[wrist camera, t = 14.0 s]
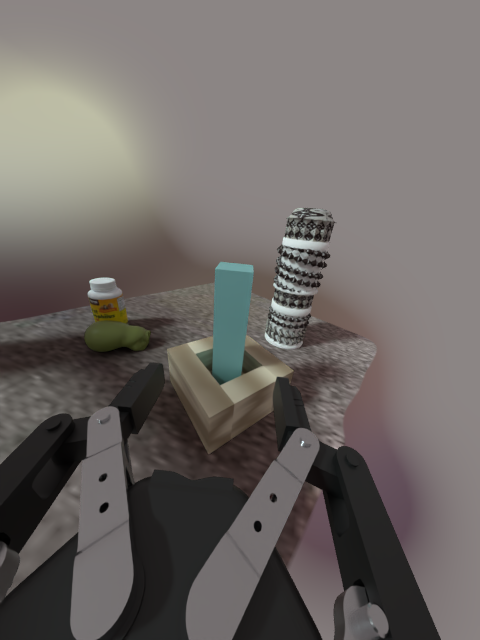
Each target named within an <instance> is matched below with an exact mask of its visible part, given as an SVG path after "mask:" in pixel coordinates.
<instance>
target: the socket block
mask: <svg viewBox="0 0 480 640" xmlns="http://www.w3.org/2000/svg"><path fill="white" fill-rule="evenodd" d="M167 352H168V362H169V371H170V380H171V383H172V385H173V387H174V389H175V391H176V393H177V395H178V397H179V399H180V401H181V403H182V405H183V406H184V408H185V410H186V412H187V414H188V416H189V418H190V420H191V422H192V424H193V426H194V428H195V430H196V432H197V433H198V435H199V437H200V439H201V441H202V443H203V445H204V447H205V449H206V451H207V453H208V455H209V454H210V453H212V452H213V451H215V450H216V449H218V448H219V447H221V446H222V445H223V444H225V443H226V442H228V441H229V440H231V439H232V438H234V437H235V436H237V435H238V434H240V433H241V432H243V431H244V430H246V429H247V428H249V427H250V426H252V425H253V424H255V423H256V422H258V421H259V420H261V419H262V418H263V417H265V416H266V415H268V414H269V413H271V412H272V411H274V408H273V391H274V386H275V382H276V378H277V377H286V378H288V379H289V383H291V379H292V376H293V372H294V371H293V370H292V369H291V368H290V367H288V366H287V365H286V364H284V363H283V362H282V361H280V360H279V359H278V358H276V357H275V356H274V355H273V354H271V353H270V352H269V351H267V350H266V349H265V348H263V347H262V346H261V345H259V344H258V343H257V342H256V341H254V340H253V339H252V338H250V337H249V336H248V335H246V339H245V347H244V356H243V364H242V372H241V376H239V377H237V378H235V379H233V380H231V381H228V382H226V383H224V384H222V385H219V384H218V382H217V381H216V380H215V378H214V377H213V376H212V365H213V336H211V337H208V338H204V339H201V340H197V341H194V342H190V343H187V344H183V345H180V346H176V347H173V348H169V349H167Z"/></svg>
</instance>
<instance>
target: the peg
mask: <svg viewBox="0 0 480 640" xmlns="http://www.w3.org/2000/svg"><path fill="white" fill-rule="evenodd" d="M253 273H254V272H253V265H245V264H235V263H225V262H220V264H219V265H218V266H217V267H216V269H215V294H214V329H213V365H212V376H213V377H214V378H215V380H216V381H217V382H218V384H219V385H222V384H224V383H226V382H228V381H231V380H233V379H235V378H237V377H239V376H241V372H242V364H243V356H244V347H245V339H246V331H247V323H248V314H249V306H250V298H251V290H252V281H253Z"/></svg>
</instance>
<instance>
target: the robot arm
mask: <svg viewBox="0 0 480 640" xmlns="http://www.w3.org/2000/svg"><path fill="white" fill-rule="evenodd" d="M164 383H165V378H164V370H163V365H162V364H161V363H149V365H148V366H147V367H146V369H145V370H144V369H141V370H139V371H138V372H137V373H135V374H134V375H133V376H132V377H131V379H130V380H129V382H127V384H126V385H125V387H123V389H122V390H121V391H120V392H119V394H118V395H117V396H116V397H115V399H114V400H113V401H112V402H111V404H110V405H109V406H108V407H105V408H102V409H100V410H98V411H96V412H95V413H94V414H93V415H92V416H90V417H85V418H79V419H72V417H71V416H70V415H69V414H58V415H55V416H52V417H50V418H49V419H47V420H45V421H44V422H43V423H41V424H40V425H39V426H38V427H37V428H36V429H35V430H34V431H33V432H32V433H31V434H30V435H29V436H28V437H27V438H26V439H25V440H24V441H23V442H22V443H21V444H20V445H19V446H18V447H17V448H16V449H15V450H14V451H13V452H12V453H11V454H10V455H9V456H8V457H7V458H6V459H5V460H4V461H3V462H2V463H1V464H0V640H322V638H321V635H320V633H319V631H318V629H317V627H316V625H315V623H314V621H313V619H312V617H311V615H310V613H309V611H308V609H307V607H306V605H305V603H304V601H303V599H302V598H301V596H300V594H299V592H298V590H297V588H296V586H295V584H294V582H293V580H292V578H291V576H290V574H289V572H288V570H287V568H286V566H285V564H284V562H283V561H282V559H281V557H280V555H279V553H278V551H277V549H276V547H275V545H276V542H277V540H278V538H279V536H280V534H281V532H282V529H283V527H284V525H285V523H286V521H287V518H288V516H289V514H290V512H291V510H292V508H293V505H294V503H295V501H296V499H297V497H298V495H299V492H300V490H301V488H302V486H303V483H304V481H306V482H308V483H310V484H312V485H314V486H316V487H318V488H320V489H322V490H323V495H324V499H325V504H326V509H327V513H328V518H329V523H330V527H331V532H332V536H333V541H334V546H335V550H336V555H337V560H338V564H339V569H340V574H341V578H342V582H343V587H344V592H343V593H341V594H340V595H339V596H338V597H337V599H336V600H335V604H334V624H335V635H334V640H441V639H440V636H439V634H438V632H437V629H436V627H435V625H434V622H433V620H432V617H431V615H430V613H429V611H428V608H427V606H426V603H425V601H424V599H423V596H422V594H421V592H420V589H419V587H418V585H417V582H416V580H415V578H414V575H413V573H412V570H411V568H410V566H409V563H408V561H407V559H406V556H405V554H404V552H403V549H402V547H401V544H400V542H399V540H398V537H397V535H396V533H395V530H394V528H393V526H392V523H391V521H390V518H389V516H388V514H387V512H386V509H385V507H384V505H383V502H382V500H381V497H380V495H379V493H378V490H377V488H376V486H375V483H374V481H373V478H372V476H371V474H370V471H369V469H368V467H367V464H366V462H365V460H364V459H363V457H362V456H361V455H360V454H359V453H358V452H357V451H356V450H354V449H352V448H350V447H347V446H341V447H339V448H338V449H335V448H332V447H330V446H328V445H325V444H323V443H322V442H320V441H319V440H318V439H317V437H316V436H315V434H314V433H312V431H311V429H310V425H309V422H308V418H307V415H306V411H305V408H304V404H303V401H302V397H301V393H300V392H299V390H298V389H297V388H296V386H290V383H289V379H288V378H286V377H277V378H276V382H275V386H274V391H273V408H274V417H275V426H276V435H277V444H278V451H281V453H280V455H279V456H278V458H277V459H276V460H274V461H273V462H272V464H271V465H270V467H269V468H268V470H267V471H266V473H265V474H264V476H263V477H262V479H261V481H260V482H259V484H258V485H257V487H256V488H255V490H254V491H253V493H252V495H251V496H250V498H249V497H248V496H247V495H246V494H245V493H244V492H243V491H242V490H240V489H239V488H237V487H236V486H234V485H233V479H231V478H223V477H209V478H204V479H199V480H190V479H188V478H186V477H184V476H182V475H180V474H177V473H175V472H172V471H163V470H154V472H153V475H152V476H151V477H147V478H144V479H142V480H140V481H138V482H136V483H135V482H134V478H133V473H132V467H131V460H130V453H129V446H128V440H127V439H128V438H129V436H130V434H131V433H132V434H138V433H139V431H140V429H141V427H142V426H143V424H144V422H145V420H146V418H147V416H148V415H149V413H150V411H151V409H152V407H153V406H154V404H155V402H156V400H157V398H158V397H159V395H160V393H161V391H162V389H163V387H164ZM81 460H83V462H82V475H81V495H80V514H79V532H78V533H77V534H76V535H74V536H73V537H72V538H71V539H70V540H69V541H68V542H66V543H65V544H64V545H63V546H62V547H61V548H60V549H59V550H57V551H56V552H55V553H54V554H53V555H52V556H51V557H50V558H48V559H47V560H46V561H45V562H44V563H43V564H42V565H41V566H39V567H38V568H37V569H36V570H35V571H34V572H33V573H31V574H30V575H29V576H28V577H27V578H26V579H25V580H24V581H22V582H21V583H20V584H19V585H18V586H17V587H16V588H15V589H14V590H12V591H11V592H10V593H9V594H8V595H7V596H6V593H7V591H8V589H9V588H10V587H11V585H12V583H13V579H14V576H15V574H16V572H17V570H18V567H19V563H20V556H19V553H20V551H21V550H22V548H23V547H24V545H25V544H26V542H27V541H28V539H29V538H30V536H31V535H32V533H33V532H34V530H35V529H36V527H37V526H38V524H39V523H40V521H41V520H42V518H43V517H44V515H45V514H46V512H47V511H48V509H49V508H50V506H51V505H52V503H53V502H54V500H55V499H56V497H57V496H58V494H59V493H60V491H61V490H62V489H63V487H64V486H65V484H66V483H67V481H68V480H69V478H70V477H71V475H72V474H73V472H74V471H75V469H76V468H77V466H78V465H79V463H80V462H81ZM5 596H6V597H5Z"/></svg>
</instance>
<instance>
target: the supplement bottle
mask: <svg viewBox="0 0 480 640" xmlns="http://www.w3.org/2000/svg"><path fill="white" fill-rule="evenodd" d="M90 286H91V289H92V290H90V291H89V292H88V298H89V301H90V305H91V308H92V312H93V315H94V319H95V322H98V321H105V320H108V321H118V322H122V323H125V324H128V319H127V314H126V308H125V304H124V298H123V293H122V290H121V289H119V288H117V287H116V283H115V280H114V279H112V278H96V279H92V280H90Z"/></svg>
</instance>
